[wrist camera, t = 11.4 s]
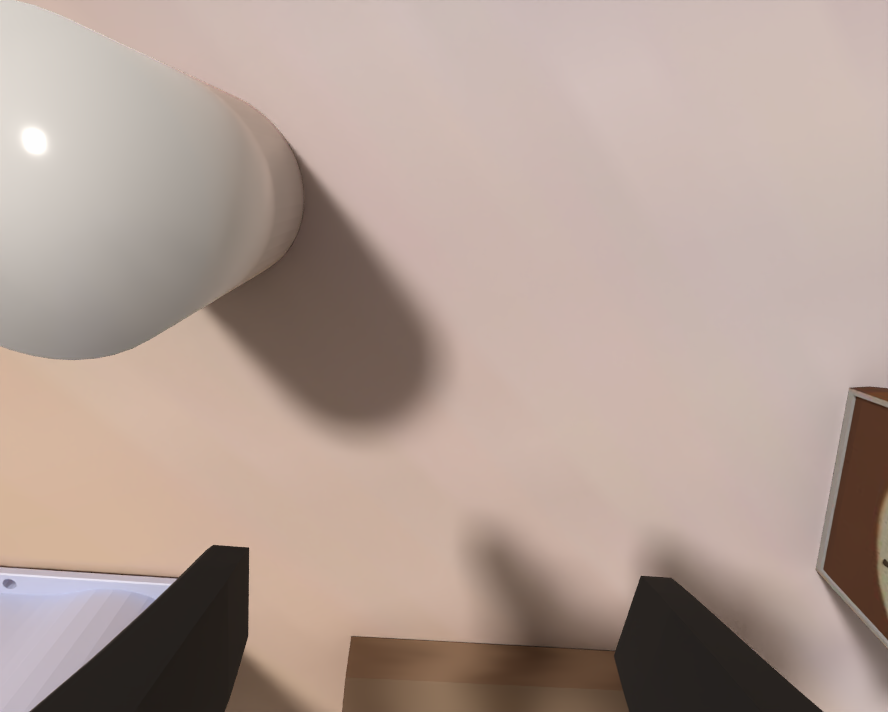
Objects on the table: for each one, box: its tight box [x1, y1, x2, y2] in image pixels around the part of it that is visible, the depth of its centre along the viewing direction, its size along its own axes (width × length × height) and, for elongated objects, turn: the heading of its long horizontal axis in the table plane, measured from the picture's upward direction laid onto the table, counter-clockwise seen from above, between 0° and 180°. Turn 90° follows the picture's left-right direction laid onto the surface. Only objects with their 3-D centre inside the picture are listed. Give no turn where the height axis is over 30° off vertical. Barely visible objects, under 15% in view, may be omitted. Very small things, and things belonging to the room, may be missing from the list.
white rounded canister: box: [0, 0, 304, 360], centre depth 12 cm, size 6×6×8 cm
